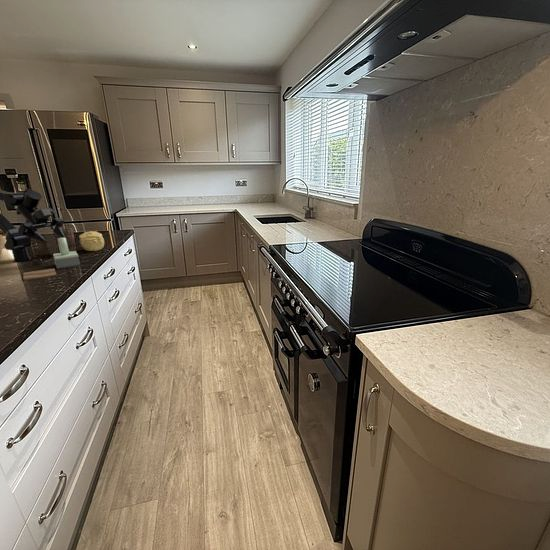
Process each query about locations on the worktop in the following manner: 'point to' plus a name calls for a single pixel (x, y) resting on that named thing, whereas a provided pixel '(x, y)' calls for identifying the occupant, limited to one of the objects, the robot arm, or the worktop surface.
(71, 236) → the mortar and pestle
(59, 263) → the storage box
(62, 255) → the lid
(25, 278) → the walnut board
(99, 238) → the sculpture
